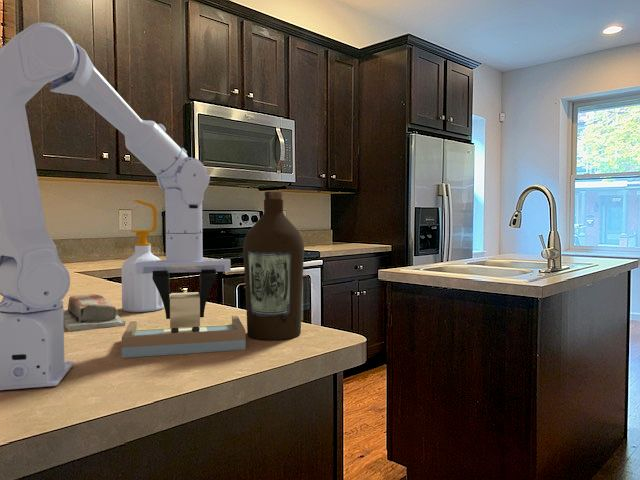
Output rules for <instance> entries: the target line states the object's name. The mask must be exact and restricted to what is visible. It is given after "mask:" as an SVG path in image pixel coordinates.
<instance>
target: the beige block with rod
mask: <svg viewBox="0 0 640 480" xmlns="http://www.w3.org/2000/svg"><path fill="white" fill-rule="evenodd" d="M169 322H170V323H169V326H170V328H172V329H171V333H178V332H179V329H178V328H182V327H192V332H199V330H200V328H199V327H200V326H201V317H200V291H195V292H191V291H190V292H170V319H169Z"/></svg>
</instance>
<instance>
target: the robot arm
mask: <svg viewBox="0 0 640 480" xmlns="http://www.w3.org/2000/svg"><path fill="white" fill-rule="evenodd" d="M48 83H51V87H50V90H49V92H52V93H57V94H63V95H71V96H77V97H79V98H80V99H82V100H83V102H85V103H86V104H87V105H89V106H90V107H91V108H92V109H93V110H94V111H96V113H98V114H99V115H100V116H102V117H103V118H104V119H105V120H106V121H107V123H110V124H111V125H112V126H113V127H114V128H115V129H117V130H118V131H119V132H121V134H122V135H124V141H125V142H124V143H125V148H126V150H128V151H129V152H130V153H131V154H133V155H134V156H135V158H136V159H138V160H139V161H140V162H141V163H142V165H144V166H145V167H147V169H148V170H149V171H150V172H152V173H153V174H154V175H155V176H156V181H157V185H158V186H159V188H160V190H162V191H164V193H165V194H164V197H165V198H164V199H165V200H164V202H165V203H164V206H165V209H164V210H165V259H160V260H152V261H137V262H136V272H137V274H144V273H153V277H152V279H153V281H154V283H155V285H156V287H157V289H158V291H159V293H160V296H161V299H162V301H163V305H164V308H163V309H164V312H165V319H166V320H170V296H171V292H170V291H171V290H170V289H171V288H170V286H171V285H170V282H171V281H170V277H171V275H170V273H171V274H173V273H176V274H177V273H199V297H200V318H204V317H205V309H206V305H207V302H208V298H209V294H210V291H211V289H212V287H213V285H214V283H215V280H216V278H217V273H216V272H225V273H229V272H232V271H231V264H232V262H231V259H230V258H225V259H224V258H204V256H203V254H204V253H203V251H204V250H203V247H204V246H203V201H204V200H205V198H204V194H205V191H206V189H208V187H209V184H210V180H211V176H210V175H208V172H207V169H206V167H205V165H204V163H202V162H201V160H199V159H197V158H196V157H194V158H193V157H192V156H191V157H190V156H188V151H187V150H186V149H185V148H184V147H180V146H179V145H178V144H177V142H175V141H174V139H173V138H171V136H170V135H168V134H167V132H166V131H167V129H166V127H165V126H164V125H163V124H162V123H156V121H154V120H147V119H146V120H144V119H142V118H140V116H139V115H138V114H137V113H136V111H134V109H133V108H132V107H131V106H130V105H129V104H128V103H127V102H126V100H125V99H124V98H123V97H122V96H121V95H120V94H119V93H118V92H117V90H115V88H114V87H113V85H112V84H110V82H108V81H107V79H106V78H105V77H104V76H103V74H101V73H100V72H99V70H97V68H96V67H95V65H94V64H93V62H92V60H91V58H90V57H89V55H88V53H87V51H86V50H85V49H84V48H82V46H80V45H79V44H78V43H75V42H74V40H73V38H72V37H71V36H70V34H69V33H67V31H65V30H64V29H63V28H61V27H60V26H58V25H56V24H54V23H51V22H50V23H49V22H46V21H45V22H43V21H42V22H41V21H40V22H35V23H33V24H31V25H28V27H26V28H25V29H23V30H22V31H20V32H19V33H17V34H16V35H14V36H13V37H12V38H11V39H10V40H9V41H8V42H7V43H6V44H4V45H3V46H1V47H0V296H2V298H1V300H0V391H5V390H7V391H8V390H19V389H21V390H22V389H30V388H31V389H32V388H44V387H45V388H46V387H55V386H58V385H59V383H60V382H61V381H62V380H63V378H64V377H65V376H66V374H67V373H68V372H69V371H70V369H71V368H72V367H73V365H74V361H71V360H69V361H68V360H67V361H66V360H65V325H64V314H63V310H64V301H63V299H64V298H65V297H66V296H67V294H68V292H69V289H70V286H71V276H70V273H69V270H68V269H67V267H66V266H65V265H64V264H63V262H62V261H61V260H60V257H59V254H58V248H57V245H56V243H55V242H54V240H53V239H52V237H51V236H50V234H49V232H48V231H47V225H46V219H45V213H44V208H43V202H42V197H41V191H40V186H39V178H38V172H37V169H36V168H37V167H36V162H35V155H34V151H33V149H34V148H33V144H32V140H31V139H32V138H31V133H30V132H31V131H30V127H29V122H28V121H29V120H28V115H27V109H26V105H27V103H28V102H29V101H30V100H31V99H32V98H34V96H35V95H36V94H38V92H39V91H41V89H43V87H44V86H46V85H47V84H48ZM195 267H196V268H195ZM173 268H174V269H173Z"/></svg>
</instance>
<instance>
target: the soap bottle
mask: <svg viewBox="0 0 640 480" xmlns="http://www.w3.org/2000/svg"><path fill="white" fill-rule="evenodd" d="M133 202H134V203H137V204H139V205H142V206H146V207H149V208H151V210H152V228H151V229H137V230H136V229H132V230H131V233H135V236H136V237H138V242H135V243H134V253H133V254H132V255H130V256H129V257H128V258H127V259H125V260H124V261H123V262H122V265H121V267H120V268H121V308H122V310H123V311H124V312H127V313H150V312H151V313H152V312H157V311H161V310H162V309H165V308H164V305H163V301H162V299H161V296H160V293H159V291H158V289H157V287H156V285H155V283H154V281H153V279H152V277H153V273H144V274H137V272H136V262H137V261H152V260H161V259H160V258H159V257H158V256H156V255H154V254H153V253H152V245H151V242H148V240H147V237H149V236H150V233H154V232H155V231H156V230H157V228H158V223H157V222H158V218H157V217H158V215H157V213H158V210H157V207H156V206H155V205H153V204H152V203H149V202H145V201H142V200H138V199H134V200H133Z"/></svg>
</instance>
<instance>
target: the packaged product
mask: <svg viewBox="0 0 640 480" xmlns="http://www.w3.org/2000/svg"><path fill="white" fill-rule="evenodd" d="M63 314H64V328H66V329H67V331H68V332H77V331H86V330H95V329H106V328H113V327H122V326H123V327H124V326H126V320H124V319H123V318H122V317H120V315H119V314H118V309H117V308H116V306H114V305H113V304H112V303H111V302H109V301H108V300H107V299H106V298H105V297H104V296H103V295H100V294H97V293H92V294H91V293H90V294H80V295H78V294H77V295H70V296H69V298H68V302H67V309H65V310H64V309H63Z"/></svg>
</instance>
